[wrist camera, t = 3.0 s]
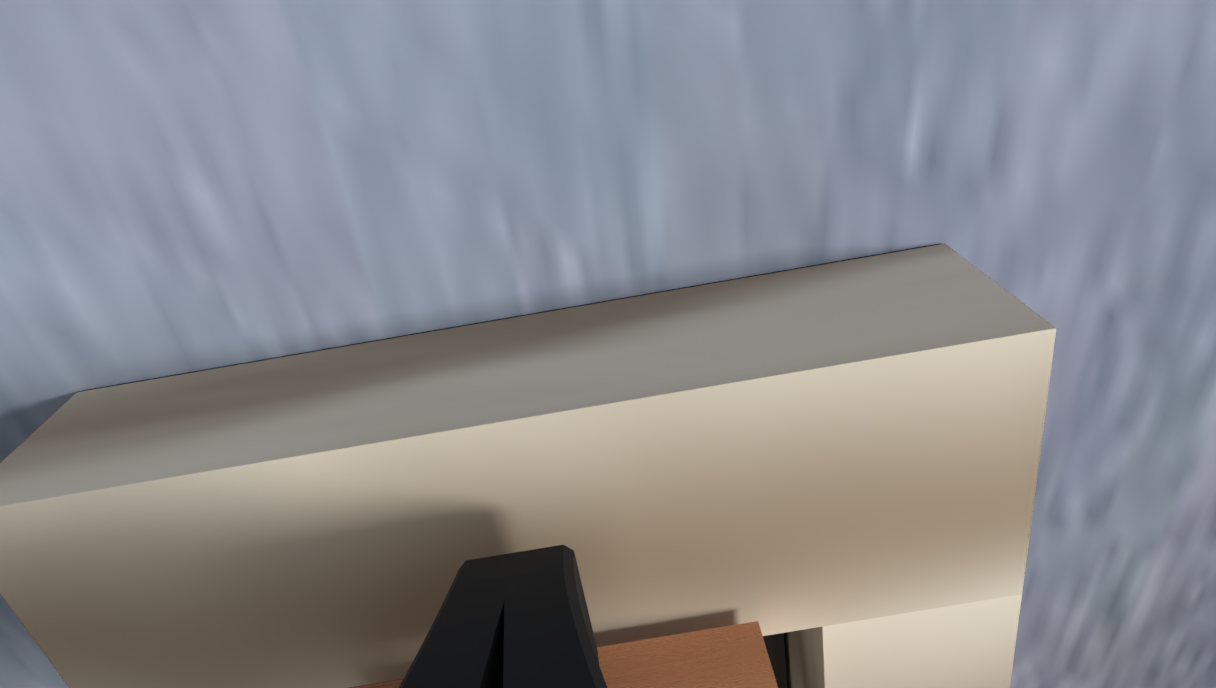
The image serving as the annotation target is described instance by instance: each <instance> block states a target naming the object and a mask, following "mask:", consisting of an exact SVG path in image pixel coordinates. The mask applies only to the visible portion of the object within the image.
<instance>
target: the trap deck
mask: <svg viewBox="0 0 1216 688" xmlns="http://www.w3.org/2000/svg"><path fill="white" fill-rule="evenodd" d="M1055 335H1056V328H1055V327H1054V326H1053V325H1052V324H1050V323H1049V322H1048V321H1046V320H1045V319H1044V318H1042V317H1041V316H1040V315H1038V314H1037V313H1036V312H1034V311H1033V310H1032V309H1030V308H1029V307H1028V306H1027V305H1025V304H1024V303H1023V302H1021V301H1020V300H1019V299H1017V298H1016V297H1015V296H1013V295H1012V294H1011V293H1009V292H1008V291H1007V290H1005V289H1004V288H1003V287H1002V286H1000V285H999V284H998V283H996V282H995V281H994V280H992V279H991V278H990V277H988V276H987V275H986V274H984V273H983V272H982V271H980V270H979V269H978V268H977V267H975V266H974V265H973V264H971V263H970V262H969V261H967V260H966V259H965V258H963V257H962V256H961V255H959V254H958V253H957V252H955V251H954V250H953V249H951V248H950V247H949V246H948V245H946V244H940V245H934V246H929V247H923V248H917V249H911V250H905V251H899V252H894V253H888V254H882V255H876V256H870V257H864V258H859V259H853V260H847V261H841V262H835V263H829V264H823V265H818V266H812V267H806V268H800V269H794V270H788V271H783V272H777V273H771V274H765V275H759V276H753V277H748V278H742V279H736V280H730V281H724V282H718V283H713V284H707V285H701V286H695V287H689V288H683V289H678V290H672V291H666V292H660V293H654V294H648V295H643V296H637V297H631V298H625V299H619V300H613V301H608V302H602V303H596V304H590V305H584V306H578V307H572V308H567V309H561V310H555V311H549V312H543V313H537V314H532V315H526V316H520V317H514V318H508V319H502V320H497V321H491V322H485V323H479V324H473V325H467V326H462V327H456V328H450V329H444V330H438V331H432V332H427V333H421V334H415V335H409V336H403V337H397V338H392V339H386V340H380V341H374V342H368V343H362V344H357V345H351V346H345V347H339V348H333V349H327V350H321V351H316V352H310V353H304V354H298V355H292V356H286V357H281V358H275V359H269V360H263V361H257V362H251V363H246V364H240V365H234V366H228V367H222V368H216V369H211V370H205V371H199V372H193V373H187V374H181V375H176V376H170V377H164V378H158V379H152V380H146V381H141V382H135V383H129V384H123V385H117V386H111V387H106V388H100V389H94V390H88V391H82V392H77V393H75V394H74V395H73V396H72V397H71V398H70V399H69V400H68V401H67V402H66V403H65V404H64V405H62V406H61V407H60V408H59V409H58V410H57V411H56V412H55V413H54V414H53V415H52V416H51V417H50V418H48V419H47V420H46V421H45V422H44V423H43V424H42V425H41V426H40V427H39V428H38V429H37V430H36V431H34V432H33V433H32V434H31V435H30V436H29V437H28V438H27V439H26V440H25V441H24V442H23V443H21V444H20V445H19V446H18V447H17V448H16V449H15V450H14V451H13V452H12V453H11V454H10V455H9V456H7V457H6V458H5V459H4V460H3V461H2V462H1V463H0V594H1V595H2V597H3V598H4V599H5V601H6V602H7V603H8V605H9V606H10V608H11V609H12V610H13V612H14V613H15V614H16V616H17V617H18V619H19V620H20V621H21V623H22V624H23V625H24V627H25V628H26V629H27V631H28V632H29V634H30V635H31V636H32V638H33V639H34V640H35V642H36V643H37V645H38V646H39V647H40V649H41V650H42V651H43V653H44V654H45V655H46V657H47V658H48V660H49V661H50V662H51V664H52V665H53V666H54V668H55V669H56V671H57V672H58V673H59V675H60V676H61V677H62V679H63V680H64V681H65V683H66V684H67V686H68V687H69V688H348V687H355V686H361V685H367V684H373V683H379V682H385V681H392V680H398V679H404V677H405V675H406V673H407V671H408V670H409V668H410V666H411V664H412V662H413V661H414V659H415V657H416V655H417V653H418V651H419V649H420V647H421V645H422V643H423V641H424V639H425V638H426V636H427V634H428V632H429V630H430V628H431V626H432V624H433V622H434V620H435V618H436V616H437V614H438V612H439V610H440V608H441V606H442V604H443V602H444V600H445V598H446V595H447V593H448V591H449V589H450V587H451V585H452V583H453V581H454V579H455V577H456V574H457V572H458V570H459V568H460V567H461V566H462V565H463V563H464V562H465V561H466V560H472V559H478V558H484V557H490V556H496V555H502V554H508V553H515V552H521V551H527V550H533V549H539V548H545V547H552V546H558V545H565V546H567V547H569V548H570V549H572V550H574V553H575V557H576V561H577V566H578V570H579V574H580V578H581V583H582V587H583V591H584V595H585V600H586V604H587V608H588V612H589V617H590V621H591V625H592V629H593V634H594V638H595V642H596V646H597V647H601V646H607V645H614V644H620V643H626V642H632V641H638V640H644V639H651V638H657V637H663V636H669V635H675V634H681V633H688V632H694V631H700V630H706V629H712V628H718V627H725V626H731V625H737V624H743V623H749V622H755V621H758V622H759V626H760V629H761V632H762V636H763V639H764V642H765V646H766V649H767V652H768V656H769V659H770V662H771V666H772V669H773V672H774V676H775V679H776V682H777V686H778V688H1010V682H1011V674H1012V667H1013V659H1014V651H1015V644H1016V636H1017V628H1018V620H1019V613H1020V605H1021V597H1022V590H1023V582H1024V574H1025V566H1026V559H1027V551H1028V543H1029V536H1030V528H1031V520H1032V512H1033V505H1034V497H1035V489H1036V481H1037V474H1038V466H1039V458H1040V451H1041V443H1042V435H1043V427H1044V420H1045V412H1046V404H1047V397H1048V389H1049V381H1050V373H1051V366H1052V358H1053V350H1054V343H1055Z"/></svg>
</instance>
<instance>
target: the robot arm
mask: <svg viewBox="0 0 1216 688" xmlns="http://www.w3.org/2000/svg"><path fill="white" fill-rule="evenodd" d="M399 688H607V685H606V682H605V680H604V677H603V674H602V672H601V669H600V666H599V658H598V651H597V646H596V642H595V638H594V634H593V629H592V625H591V621H590V617H589V612H588V608H587V604H586V600H585V595H584V591H583V587H582V583H581V578H580V574H579V570H578V566H577V561H576V557H575V553H574V550H572V549H570V548H569V547H567V546H565V545H558V546H552V547H545V548H539V549H533V550H527V551H521V552H515V553H508V554H502V555H496V556H490V557H484V558H478V559H472V560H466V561H465V562H464V563H463V565H462V566H461V567H460V568H459V570H458V572H457V574H456V577H455V579H454V581H453V583H452V585H451V587H450V589H449V591H448V593H447V595H446V598H445V600H444V602H443V604H442V606H441V608H440V610H439V612H438V614H437V616H436V618H435V620H434V622H433V624H432V626H431V628H430V630H429V632H428V634H427V636H426V638H425V639H424V641H423V643H422V645H421V647H420V649H419V651H418V653H417V655H416V657H415V659H414V661H413V662H412V664H411V666H410V668H409V670H408V671H407V673H406V675H405V677H404V679H403V680H402V682H401V684H400V686H399Z"/></svg>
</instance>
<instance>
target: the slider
mask: <svg viewBox="0 0 1216 688" xmlns="http://www.w3.org/2000/svg"><path fill="white" fill-rule="evenodd" d="M597 651H598V658H599V666H600V669H601V672H602V674H603V677H604V680H605V682H606V685H607V688H778V686H777V682H776V679H775V676H774V672H773V669H772V666H771V662H770V659H769V656H768V652H767V649H766V646H765V642H764V639H763V636H762V632H761V629H760V626H759V622H758V621H755V622H749V623H743V624H737V625H731V626H725V627H718V628H712V629H706V630H700V631H694V632H688V633H681V634H675V635H669V636H663V637H657V638H651V639H644V640H638V641H632V642H626V643H620V644H614V645H607V646H601V647H597ZM402 680H403V679H398V680H392V681H385V682H379V683H373V684H367V685H361V686H355V687H348V688H399V686H400V684H401V682H402Z"/></svg>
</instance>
